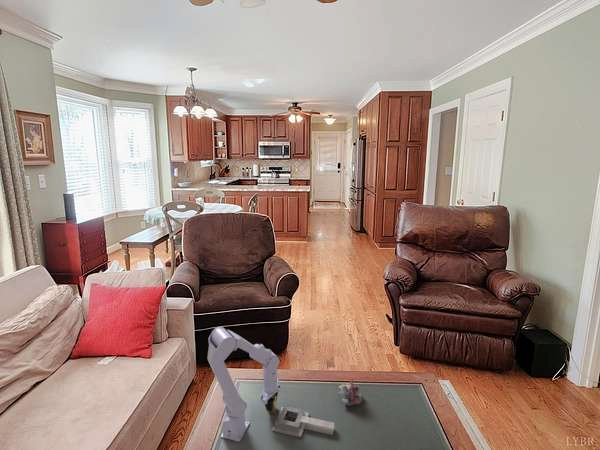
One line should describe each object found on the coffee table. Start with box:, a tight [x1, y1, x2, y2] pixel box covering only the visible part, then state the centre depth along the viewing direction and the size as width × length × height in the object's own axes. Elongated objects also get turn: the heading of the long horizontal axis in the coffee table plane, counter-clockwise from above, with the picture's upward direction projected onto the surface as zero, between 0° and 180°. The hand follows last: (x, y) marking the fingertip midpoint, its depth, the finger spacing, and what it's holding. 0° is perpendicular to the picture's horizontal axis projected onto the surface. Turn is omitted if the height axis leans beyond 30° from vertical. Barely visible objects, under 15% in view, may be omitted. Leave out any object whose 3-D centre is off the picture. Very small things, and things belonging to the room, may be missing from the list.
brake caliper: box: [338, 377, 363, 407], centre depth 153 cm, size 11×11×12 cm
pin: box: [267, 394, 277, 414], centre depth 148 cm, size 4×4×7 cm
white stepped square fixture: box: [271, 405, 335, 438], centre depth 140 cm, size 12×24×3 cm, turn 73°
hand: (271, 406), depth 148 cm, fingers closed on pin, 4 cm apart
